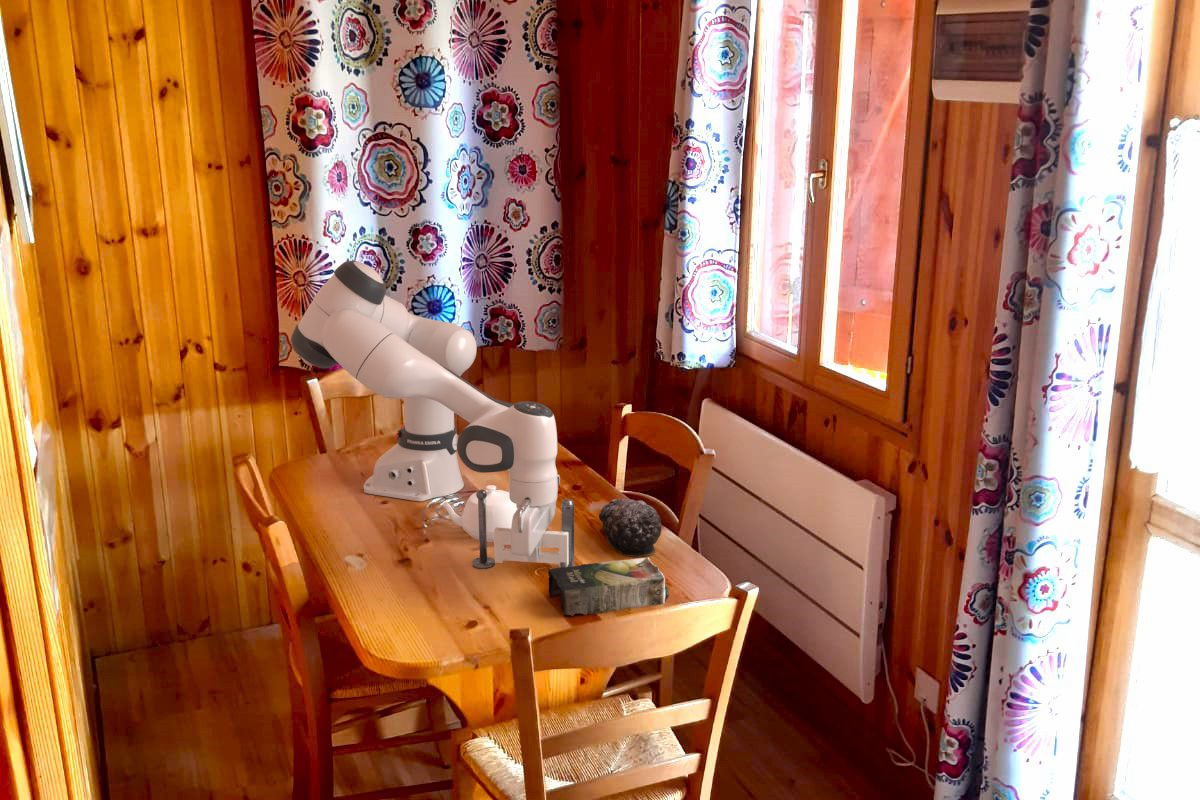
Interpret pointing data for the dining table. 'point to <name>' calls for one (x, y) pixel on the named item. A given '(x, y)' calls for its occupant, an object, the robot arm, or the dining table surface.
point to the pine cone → (631, 526)
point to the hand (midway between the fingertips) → (533, 559)
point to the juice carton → (608, 586)
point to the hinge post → (482, 534)
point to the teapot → (496, 513)
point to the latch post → (568, 526)
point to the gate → (548, 540)
